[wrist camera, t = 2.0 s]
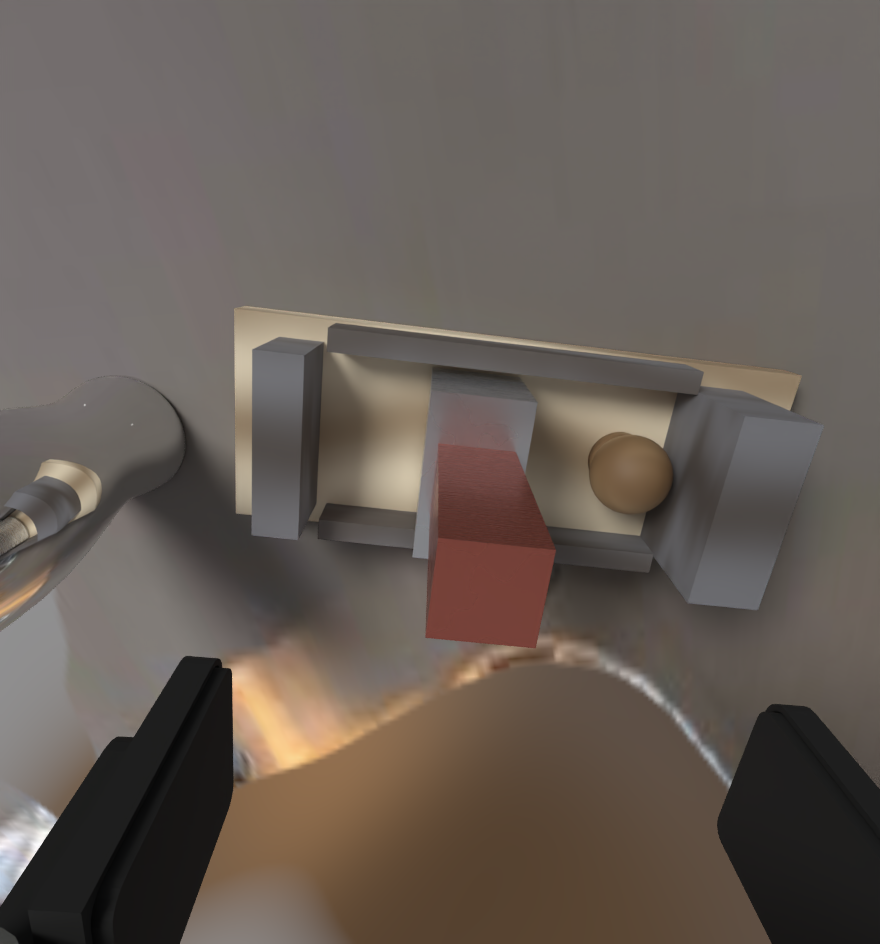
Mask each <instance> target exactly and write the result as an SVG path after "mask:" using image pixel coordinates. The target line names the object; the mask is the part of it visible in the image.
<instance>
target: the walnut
mask: <svg viewBox="0 0 880 944" xmlns="http://www.w3.org/2000/svg"><path fill="white" fill-rule="evenodd" d="M588 468H589V479H590V485H591V488H592V490H593V492H594V494H595V496H596V497H597V498H598V500H599V501H600V502H601V503H602V504H603V505H605V506H606V507H608V508H609V509H611V510H613V511H615V512H618V513H622V514H630V515H632V514H641V513H644V512H647V511H650V510H652V509H653V508H655V507H656V506H658V505H659V504H660V503H661V502H662V501H663V500H664V499H665V498H666V496H667V495H668V493H669V491H670V489H671V486H672V482H673V468H672V463H671V461H670V459H669V457H668V455H667V453H666V452H665V451H664V449H663V448H662V447H661V446H660V445H659V444H657V443H656V442H654V441H653V440H651V439H649V438H646V437H643V436H639V435H632V434H629V433H625V432H614V433H610V434H607V435H605V436H603V437H602V438H600V439H599V440H598V441H597V442H596V443H595V444H594V445H593V447H592V448H591V450H590V453H589V456H588Z"/></svg>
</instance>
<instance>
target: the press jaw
mask: <svg viewBox="0 0 880 944" xmlns="http://www.w3.org/2000/svg"><path fill="white" fill-rule="evenodd" d="M537 404H538V402H537V401H536V399H535V398H534V397H533V395H532V394H531V392H530V391H529V390H528V388H527V387H526V385H525V384H524V382H523V381H522V380H521V378H520V377H513V376H504V375H496V374H487V373H479V372H470V371H461V370H453V369H444V368H435V367H432V376H431V385H430V394H429V403H428V412H427V421H426V430H425V439H424V448H423V457H422V466H421V475H420V484H419V493H418V502H417V511H416V522H415V534H414V545H413V556H412V557H415V558H425V559H428V580H427V608H426V637H425V638H434V639H445V640H455V641H466V642H476V643H486V644H497V645H507V646H518V647H528V648H536V644H537V639H538V634H539V629H540V624H541V620H542V615H543V610H544V605H545V600H546V596H547V591H548V586H549V581H550V576H551V572H552V567H553V562H554V557H555V552H556V549H555V547H554V544H553V542H552V539H551V537H550V534H549V532H548V529H547V527H546V524H545V522H544V520H543V517H542V515H541V512H540V510H539V507H538V505H537V502H536V500H535V498H534V495H533V493H532V490H531V488H530V485H529V483H528V480H527V478H526V475H525V471H526V466H527V460H528V454H529V449H530V443H531V438H532V432H533V426H534V421H535V415H536V410H537Z"/></svg>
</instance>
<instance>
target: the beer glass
mask: <svg viewBox="0 0 880 944" xmlns="http://www.w3.org/2000/svg"><path fill="white" fill-rule="evenodd" d="M184 453H185V434H184V430H183V426H182V423H181V421H180V419H179V417H178V415H177V413H176V411H175V410H174V408H173V407H172V405H171V404H170V403H169V402H168V401H167V400H166V399H165V398H164V397H163V396H162V395H161V394H160V393H159V392H157V391H156V390H155V389H153V388H152V387H150V386H149V385H147V384H145V383H143V382H141V381H138V380H135V379H132V378H128V377H123V376H103V377H97V378H94V379H91V380H88V381H86V382H84V383H82V384H80V385H79V386H77V387H76V388H74V389H73V390H71V391H70V392H69V393H68V394H66V395H65V396H64V397H62V398H61V399H59V400H58V401H56V402H53V403H50V404H47V405H39V406H30V407H18V408H7V409H0V632H1V631H2V630H3V629H5V628H6V627H8V626H9V625H10V624H12V623H13V622H14V621H16V620H17V619H18V618H19V617H21V616H22V615H23V614H24V613H26V612H27V611H28V610H30V609H31V608H32V607H33V606H35V605H36V604H37V603H38V602H40V601H41V600H42V599H43V598H44V597H45V596H47V595H48V594H49V593H50V592H51V591H52V590H53V589H54V588H55V587H56V586H57V585H58V584H60V583H61V582H62V581H63V580H64V579H65V578H66V577H67V576H68V575H69V574H70V573H71V572H72V571H73V569H74V568H75V567H76V566H77V565H78V564H79V563H80V561H81V560H82V559H83V558H84V557H85V556H86V554H87V553H88V552H89V551H90V550H91V548H92V547H93V546H94V544H95V543H96V542H97V540H98V539H99V538H100V536H101V535H102V534H103V532H104V531H105V530H106V528H107V527H108V526H109V524H110V523H111V521H112V520H113V519H114V517H115V516H116V515H117V513H118V512H119V511H120V509H121V508H122V507H123V506H124V505H125V504H126V503H127V502H128V501H129V500H131V499H132V498H134V497H137V496H139V495H142V494H144V493H147V492H150V491H152V490H154V489H156V488H158V487H160V486H162V485H163V484H165V483H166V482H167V481H169V480H170V479H171V478H172V477H173V476H174V475H175V473H176V472H177V471H178V469H179V467H180V465H181V463H182V461H183V458H184Z"/></svg>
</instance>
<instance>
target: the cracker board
mask: <svg viewBox="0 0 880 944" xmlns="http://www.w3.org/2000/svg"><path fill="white" fill-rule="evenodd" d="M234 318H235V456H236V513H237V514H246V515H252V535H253V536H263V537H272V538H282V539H292V540H298V539H299V537H300V535H301V533H302V531H303V529H304V527H305V525H306V523H307V521H314V522H319V524H318V539H324V540H333V541H343V542H353V543H363V544H373V545H382V546H392V547H402V548H412V549H413V545H414V534H415V522H416V511H417V502H418V493H419V484H420V475H421V466H422V457H423V448H424V439H425V430H426V421H427V412H428V403H429V394H430V385H431V376H432V367H435V368H444V369H453V370H461V371H470V372H479V373H487V374H496V375H504V376H513V377H520V378H521V380H522V381H523V382H524V384H525V385H526V387H527V388H528V390H529V391H530V392H531V394H532V395H533V397H534V398H535V399H536V401H537V402H538V404H537V410H536V415H535V421H534V426H533V432H532V438H531V443H530V449H529V454H528V460H527V466H526V471H525V475H526V478H527V480H528V483H529V485H530V488H531V490H532V493H533V495H534V498H535V500H536V502H537V505H538V507H539V510H540V512H541V515H542V517H543V520H544V522H545V524H546V527H547V529H548V532H549V534H550V537H551V539H552V542H553V544H554V547H555V549H556V552H555V557H554V562H553V563H558V564H568V565H578V566H587V567H597V568H607V569H617V570H626V571H636V572H646V573H649V570H650V567H651V563H652V560H653V557H654V558H655V559H656V561H657V562H658V563H659V565H660V566H661V568H662V569H663V570H664V572H665V573H666V574H667V576H668V577H669V578H670V580H671V581H672V583H673V584H674V585H675V587H676V588H677V589H678V591H679V592H680V594H681V595H682V596H683V598H684V599H685V600H686V602H687V603H691V604H701V605H711V606H721V607H731V608H741V609H751V610H758V609H759V606H760V603H761V600H762V597H763V595H764V592H765V589H766V586H767V583H768V581H769V578H770V575H771V572H772V570H773V567H774V564H775V561H776V558H777V556H778V553H779V550H780V547H781V545H782V542H783V539H784V536H785V533H786V531H787V528H788V525H789V522H790V519H791V517H792V514H793V511H794V508H795V506H796V503H797V500H798V497H799V494H800V492H801V489H802V486H803V483H804V481H805V478H806V475H807V472H808V469H809V467H810V464H811V461H812V458H813V455H814V453H815V450H816V447H817V444H818V442H819V439H820V436H821V433H822V430H823V428H824V425H822V424H820V423H818V422H815V421H813V420H811V419H808V418H806V417H804V416H801V415H799V414H796V413H794V412H792V411H790V409H791V406H792V404H793V401H794V398H795V395H796V392H797V389H798V386H799V383H800V380H801V377H802V376H801V375H798V374H795V373H791V372H788V371H785V370H779V369H771V368H762V367H754V366H745V365H737V364H729V363H720V362H712V361H703V360H695V359H687V358H678V357H670V356H661V355H653V354H644V353H636V352H628V351H619V350H611V349H602V348H594V347H586V346H577V345H569V344H560V343H552V342H543V341H535V340H527V339H518V338H510V337H501V336H493V335H485V334H476V333H468V332H459V331H451V330H442V329H434V328H426V327H417V326H409V325H400V324H392V323H384V322H375V321H367V320H358V319H350V318H341V317H333V316H325V315H316V314H308V313H299V312H291V311H283V310H274V309H266V308H257V307H249V306H243V307H239V308H234ZM614 432H625V433H629V434H632V435H639V436H643V437H646V438H649V439H651V440H653V441H654V442H656V443H657V444H659V445H660V446H661V447H662V448H663V449H664V451H665V452H666V453H667V455H668V457H669V459H670V461H671V463H672V468H673V482H672V486H671V489H670V491H669V493H668V495H667V496H666V498H665V499H664V500H663V501H662V502H661V503H660V504H659V505H658V506H656V507H655V508H653V509H652V510H650V511H647V512H644V513H641V514H632V515H630V514H622V513H618V512H615V511H613V510H611V509H609V508H608V507H606V506H605V505H603V504H602V503H601V502H600V501H599V500H598V498H597V497H596V496H595V494H594V492H593V490H592V488H591V485H590V479H589V468H588V456H589V453H590V450H591V448H592V447H593V445H594V444H595V443H596V442H597V441H598V440H599V439H600V438H602V437H603V436H605V435H607V434H610V433H614Z"/></svg>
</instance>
